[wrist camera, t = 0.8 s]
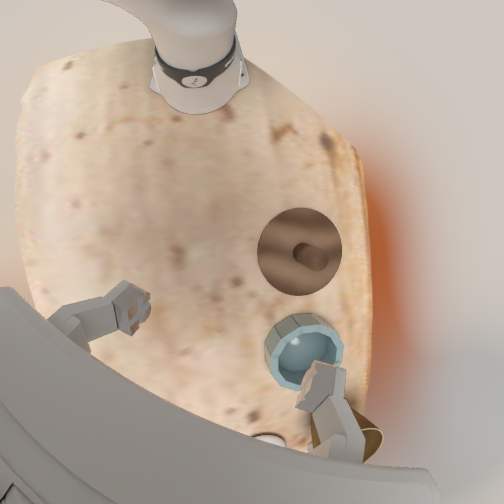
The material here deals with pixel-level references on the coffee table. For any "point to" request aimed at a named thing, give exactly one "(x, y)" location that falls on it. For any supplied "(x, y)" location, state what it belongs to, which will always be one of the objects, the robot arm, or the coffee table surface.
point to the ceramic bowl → (300, 348)
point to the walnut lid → (299, 251)
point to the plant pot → (369, 431)
